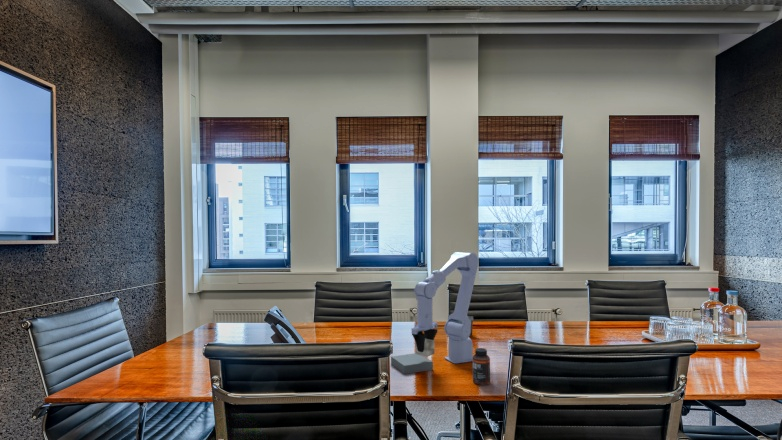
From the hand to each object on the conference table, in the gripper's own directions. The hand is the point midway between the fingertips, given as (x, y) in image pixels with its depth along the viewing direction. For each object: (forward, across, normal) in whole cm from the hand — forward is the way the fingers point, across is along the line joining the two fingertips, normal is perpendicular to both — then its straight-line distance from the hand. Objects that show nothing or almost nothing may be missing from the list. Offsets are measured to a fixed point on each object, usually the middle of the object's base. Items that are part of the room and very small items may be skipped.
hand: (424, 349), depth 153 cm
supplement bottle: (+8, +2, -22) cm, 24 cm away
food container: (+8, +57, +16) cm, 60 cm away
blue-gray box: (+7, -1, +6) cm, 9 cm away
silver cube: (+2, 0, 0) cm, 2 cm away
